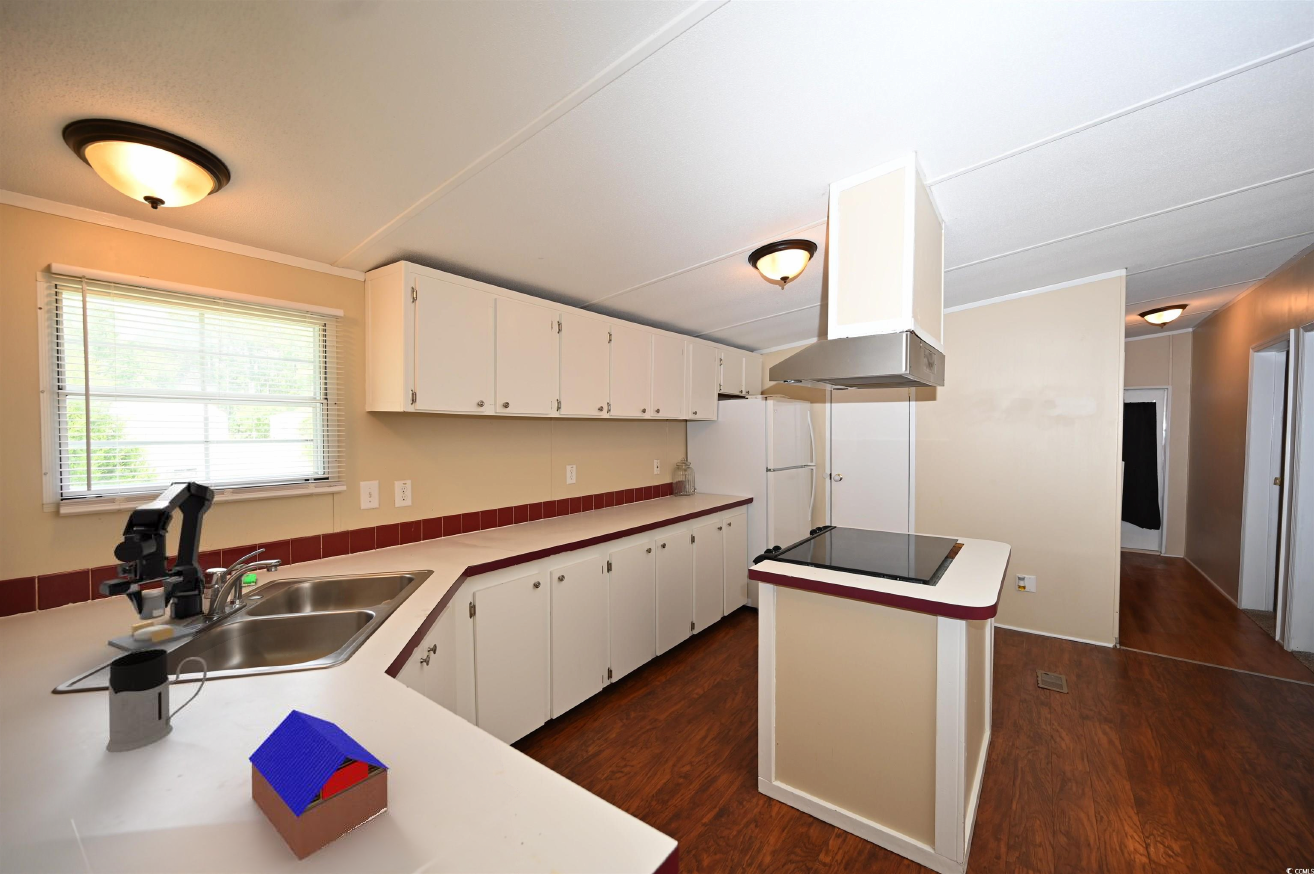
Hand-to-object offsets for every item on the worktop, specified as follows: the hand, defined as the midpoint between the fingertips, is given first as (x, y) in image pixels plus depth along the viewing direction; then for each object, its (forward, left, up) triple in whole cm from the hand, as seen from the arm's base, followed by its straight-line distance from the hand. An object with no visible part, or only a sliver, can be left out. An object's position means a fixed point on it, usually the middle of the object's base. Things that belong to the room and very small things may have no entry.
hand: (152, 611), depth 140 cm
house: (+21, +103, -8) cm, 105 cm away
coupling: (0, 0, -2) cm, 2 cm away
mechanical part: (-40, -35, -8) cm, 54 cm away
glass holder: (+22, +58, -8) cm, 62 cm away
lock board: (0, 0, -8) cm, 8 cm away
